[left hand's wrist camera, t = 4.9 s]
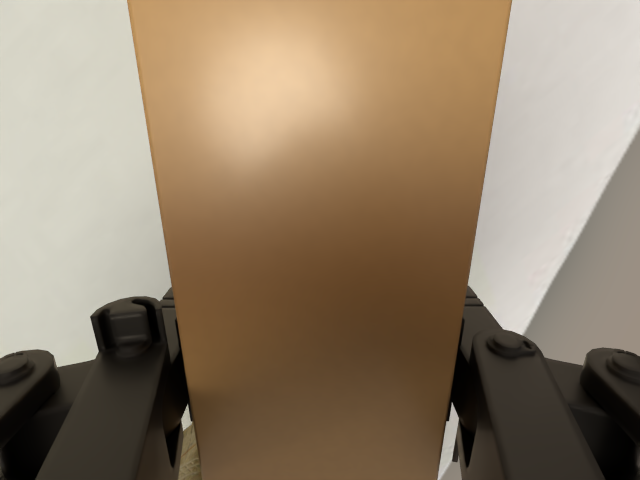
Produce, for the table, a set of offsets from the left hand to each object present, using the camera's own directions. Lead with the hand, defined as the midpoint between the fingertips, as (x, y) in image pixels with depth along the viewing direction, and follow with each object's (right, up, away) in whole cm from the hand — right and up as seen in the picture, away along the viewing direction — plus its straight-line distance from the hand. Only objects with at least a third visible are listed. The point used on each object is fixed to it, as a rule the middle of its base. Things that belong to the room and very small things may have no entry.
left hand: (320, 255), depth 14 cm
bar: (0, +8, -2) cm, 8 cm away
